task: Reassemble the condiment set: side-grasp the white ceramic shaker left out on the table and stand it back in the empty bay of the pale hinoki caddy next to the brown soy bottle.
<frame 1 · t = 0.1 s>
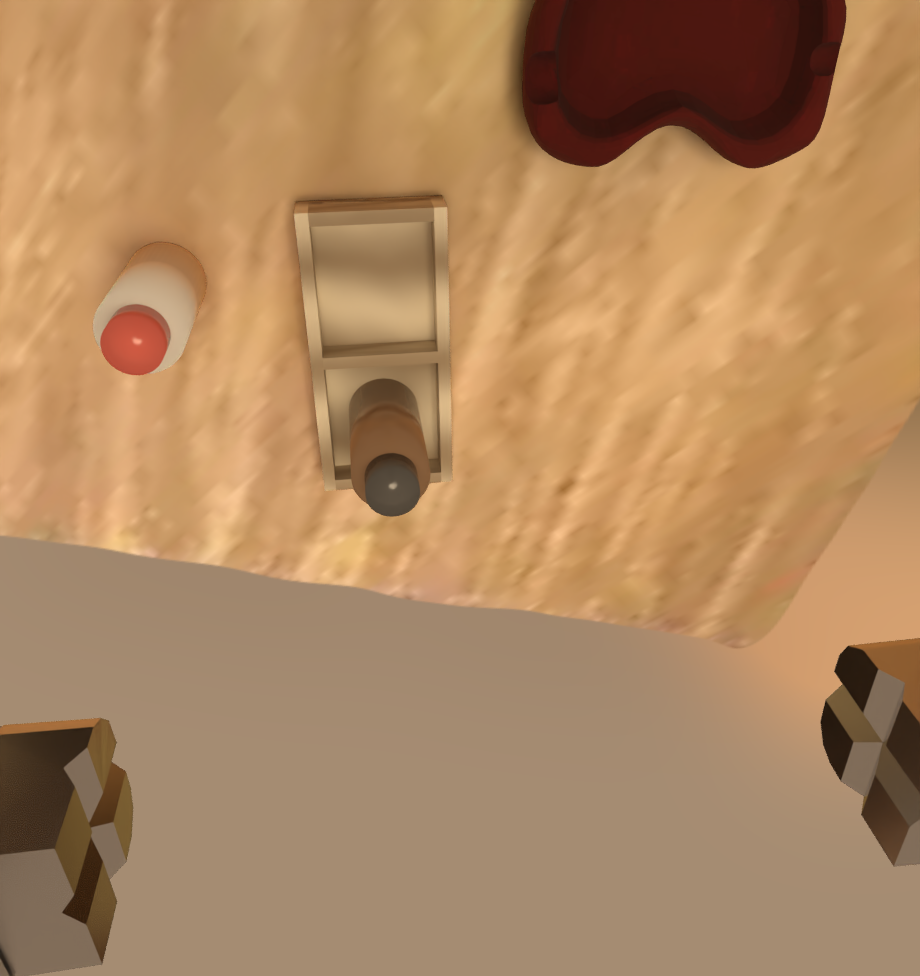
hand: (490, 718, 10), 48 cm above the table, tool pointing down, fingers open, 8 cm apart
white shaker: (167, 280, 54), on the table
ashtray: (667, 5, 50), on the table
caddy: (378, 343, 58), on the table
brown soy bottle: (383, 410, 59), point 1 cm above the table, touching caddy
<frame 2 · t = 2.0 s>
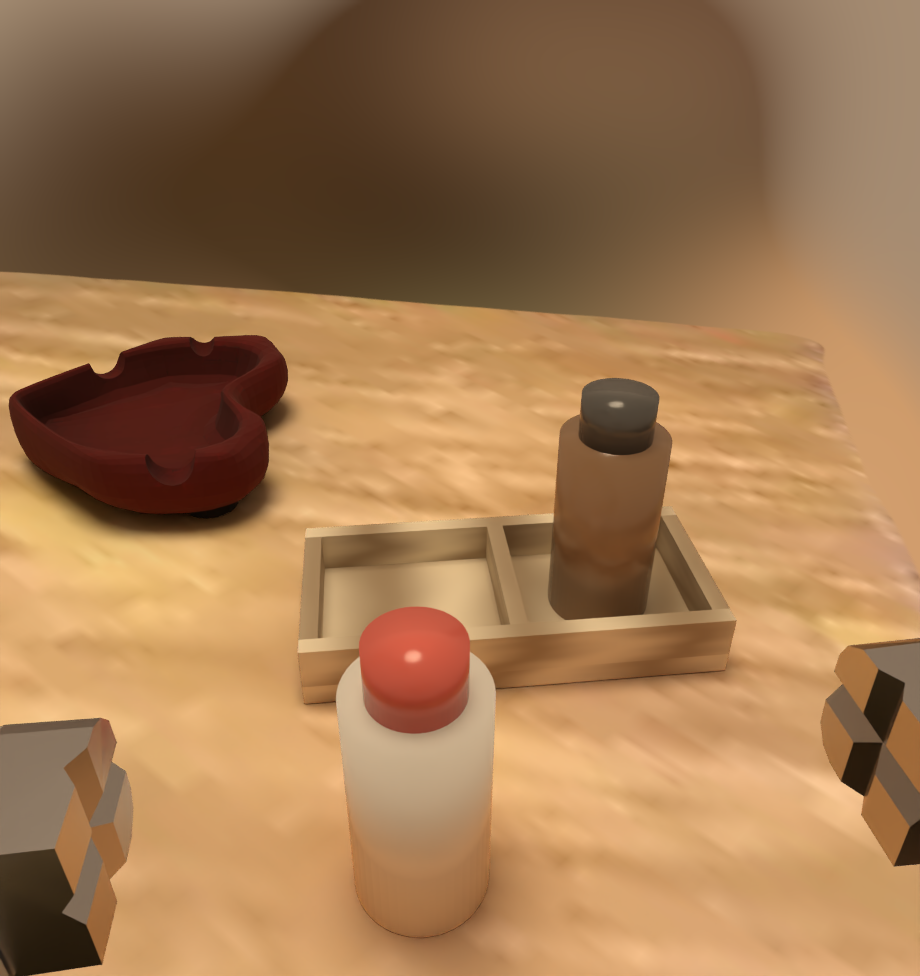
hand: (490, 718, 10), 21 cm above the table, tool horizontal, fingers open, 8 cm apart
white shaker: (422, 871, 31), on the table
ashtray: (157, 461, 55), on the table
caddy: (504, 619, 42), on the table
brown soy bottle: (596, 597, 42), point 1 cm above the table, touching caddy
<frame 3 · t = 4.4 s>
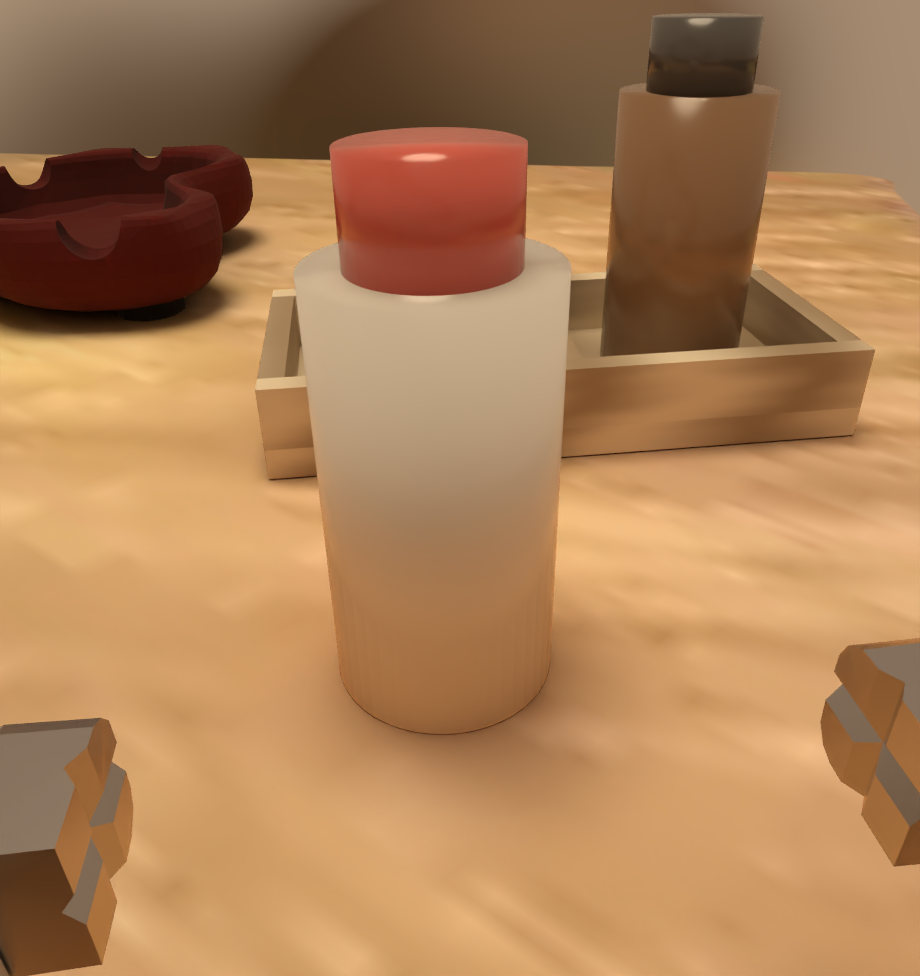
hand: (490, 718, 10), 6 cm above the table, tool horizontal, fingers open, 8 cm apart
white shaker: (444, 653, 20), on the table
ashtray: (89, 282, 45), on the table
caddy: (542, 395, 31), on the table
brown soy bottle: (666, 362, 31), point 1 cm above the table, touching caddy
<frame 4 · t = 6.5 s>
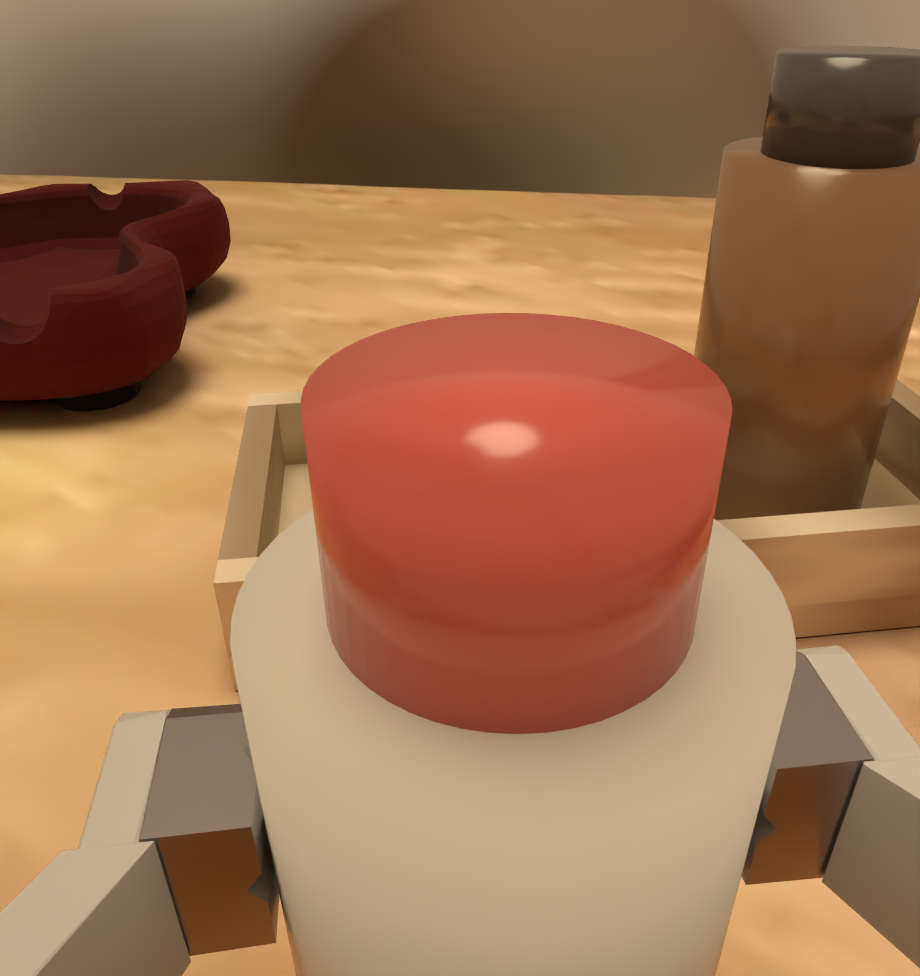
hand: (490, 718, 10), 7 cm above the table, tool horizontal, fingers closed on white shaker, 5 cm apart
ashtray: (32, 349, 37), on the table
caddy: (600, 540, 24), on the table
brown soy bottle: (764, 497, 24), point 1 cm above the table, touching caddy
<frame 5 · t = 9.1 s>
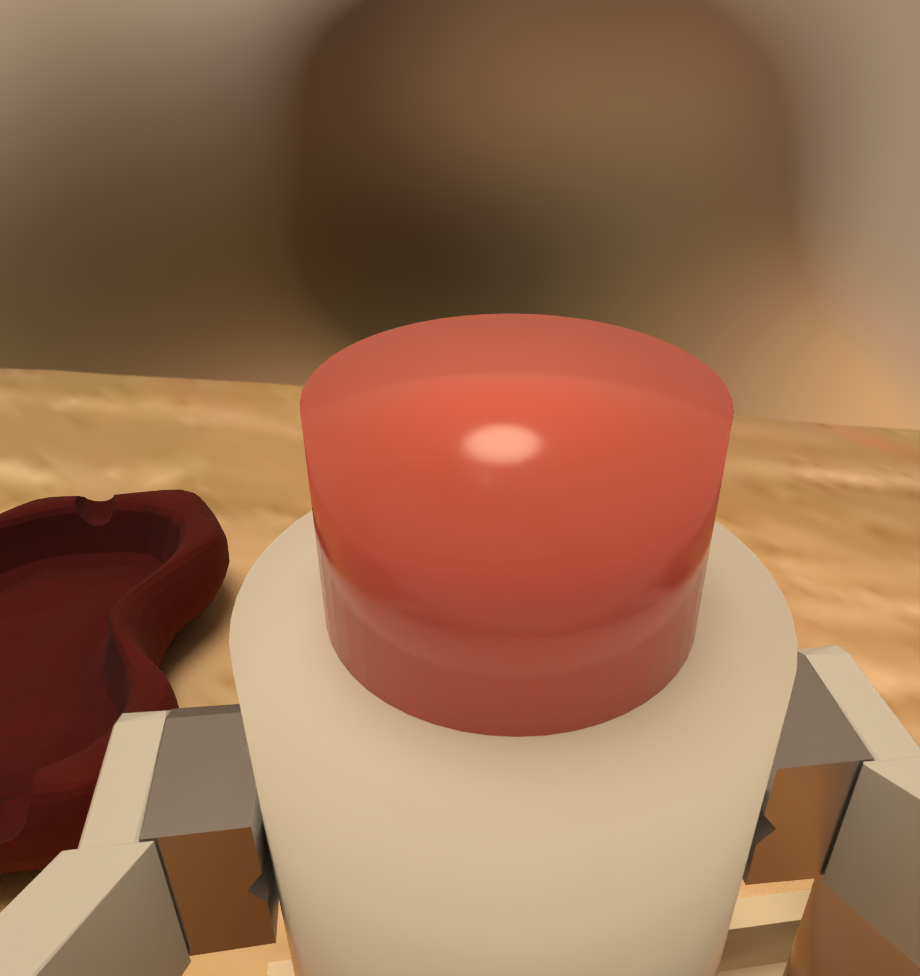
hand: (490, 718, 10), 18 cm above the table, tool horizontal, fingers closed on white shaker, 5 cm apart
ashtray: (15, 716, 34), on the table
when the fingers open (9 cm above the table, at t = 11.6 s): white shaker drops 1 cm, resting on caddy.
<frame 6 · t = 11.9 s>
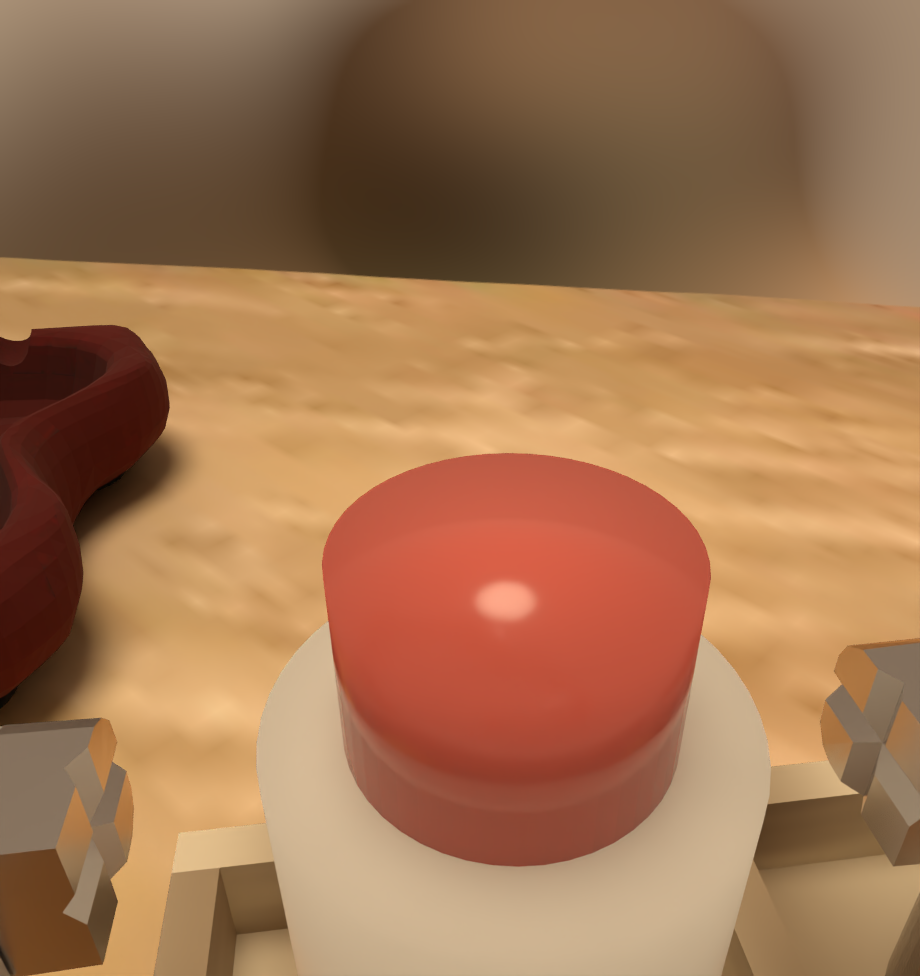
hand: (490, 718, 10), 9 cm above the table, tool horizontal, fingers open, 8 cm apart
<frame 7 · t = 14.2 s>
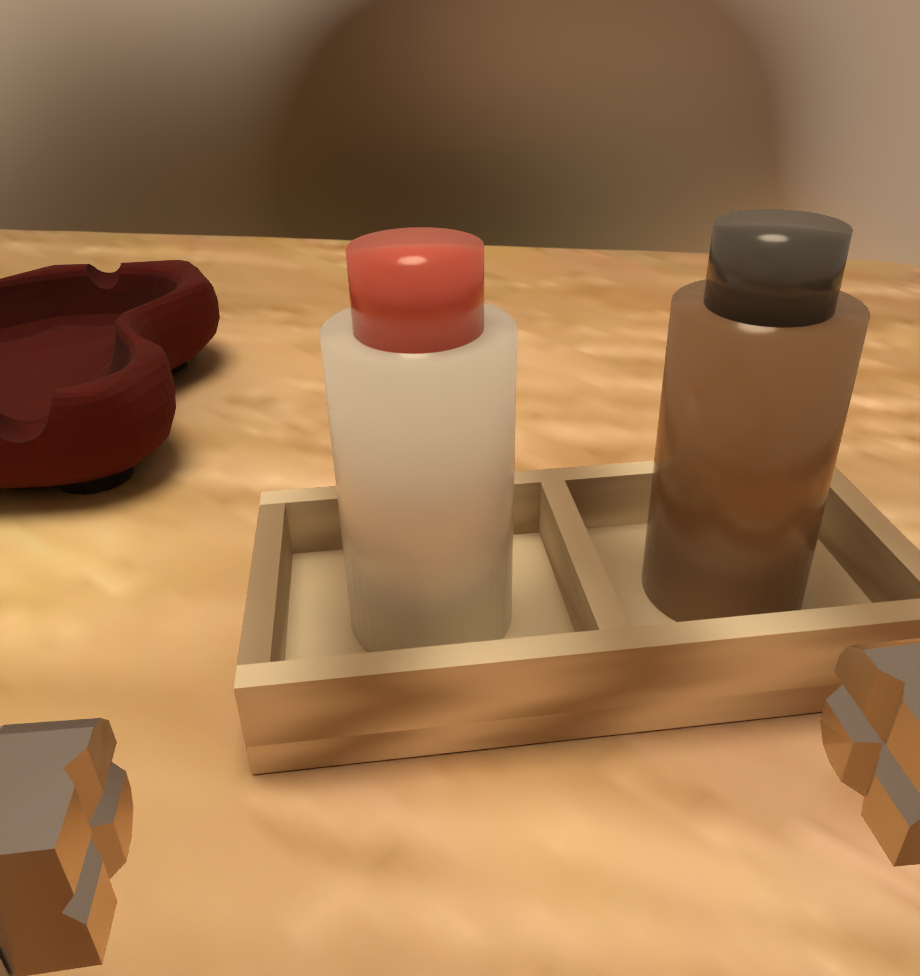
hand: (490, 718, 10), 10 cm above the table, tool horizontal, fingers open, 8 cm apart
white shaker: (431, 613, 26), point 1 cm above the table, touching caddy
ashtray: (35, 425, 40), on the table
caddy: (574, 624, 27), on the table
brown soy bottle: (720, 585, 27), point 1 cm above the table, touching caddy
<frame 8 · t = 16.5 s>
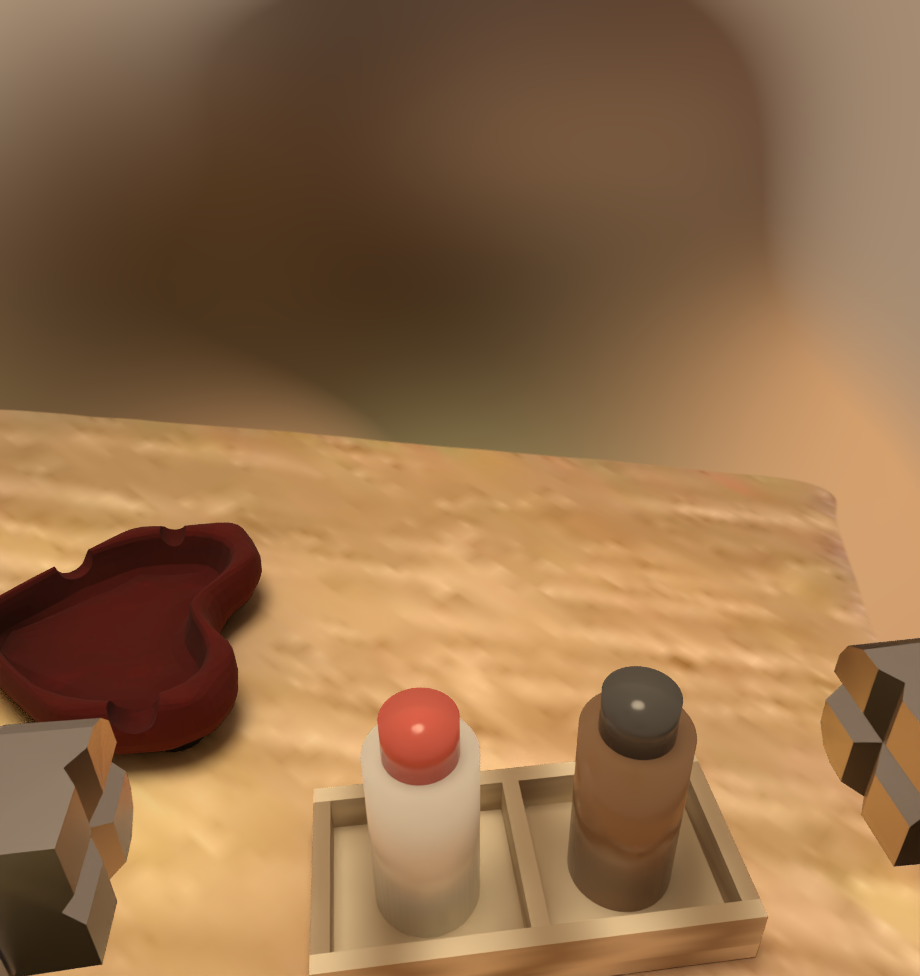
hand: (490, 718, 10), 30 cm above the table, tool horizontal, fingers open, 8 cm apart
white shaker: (427, 886, 39), point 1 cm above the table, touching caddy
ashtray: (125, 669, 54), on the table
caddy: (522, 888, 40), on the table
brown soy bottle: (618, 863, 40), point 1 cm above the table, touching caddy
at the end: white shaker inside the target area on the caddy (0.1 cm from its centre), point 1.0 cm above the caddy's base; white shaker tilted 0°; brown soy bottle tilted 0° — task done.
